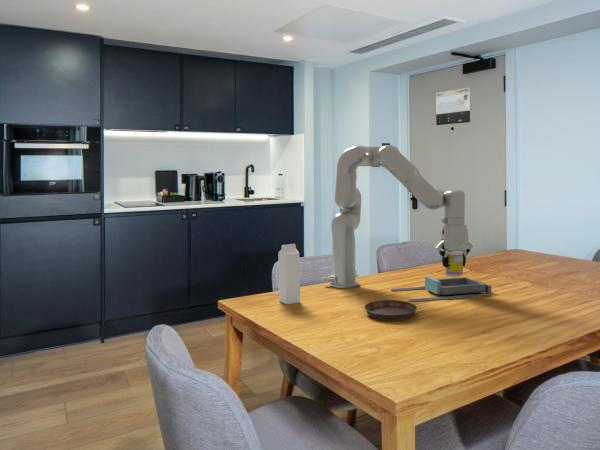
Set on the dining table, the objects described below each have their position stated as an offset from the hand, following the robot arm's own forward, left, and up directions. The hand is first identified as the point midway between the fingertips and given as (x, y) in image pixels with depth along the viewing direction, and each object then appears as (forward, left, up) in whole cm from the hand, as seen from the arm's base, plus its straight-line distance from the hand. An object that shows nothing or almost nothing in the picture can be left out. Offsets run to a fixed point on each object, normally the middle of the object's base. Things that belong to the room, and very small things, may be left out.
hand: (453, 265), depth 200 cm
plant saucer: (-36, -22, -11) cm, 44 cm away
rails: (-6, 0, -11) cm, 12 cm away
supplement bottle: (0, 0, -4) cm, 4 cm away
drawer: (+1, 0, -11) cm, 11 cm away
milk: (-66, +4, -11) cm, 67 cm away
